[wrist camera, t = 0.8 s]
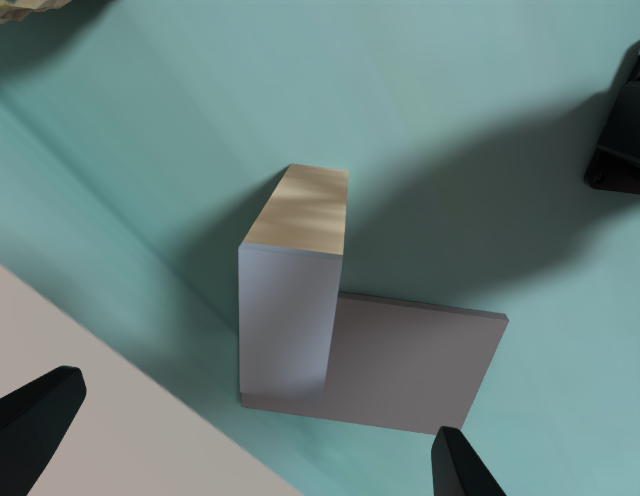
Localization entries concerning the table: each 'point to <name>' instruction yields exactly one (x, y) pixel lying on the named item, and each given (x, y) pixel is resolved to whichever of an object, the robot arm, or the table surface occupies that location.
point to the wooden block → (292, 285)
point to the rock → (26, 8)
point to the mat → (400, 365)
